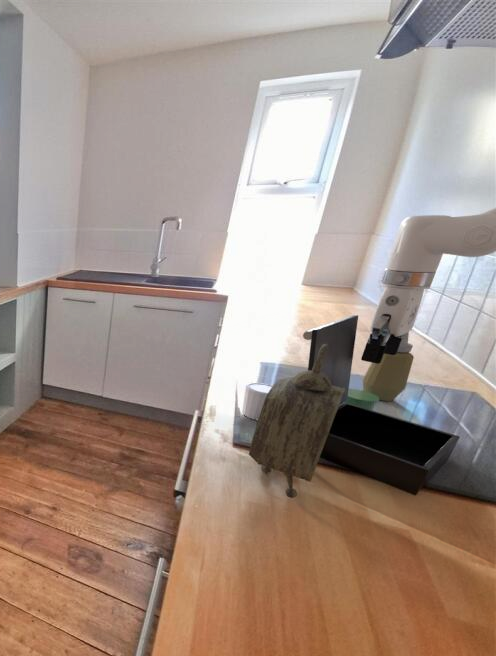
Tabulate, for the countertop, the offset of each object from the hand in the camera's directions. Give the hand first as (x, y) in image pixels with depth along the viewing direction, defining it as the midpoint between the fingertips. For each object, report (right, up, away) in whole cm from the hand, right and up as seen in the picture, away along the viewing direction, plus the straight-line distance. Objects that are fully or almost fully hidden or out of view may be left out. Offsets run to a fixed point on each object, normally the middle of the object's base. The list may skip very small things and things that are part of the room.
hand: (378, 357), depth 92 cm
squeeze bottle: (+13, -9, +14) cm, 21 cm away
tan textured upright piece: (-35, -23, -17) cm, 45 cm away
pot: (0, -13, +6) cm, 14 cm away
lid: (-19, -3, -10) cm, 21 cm away
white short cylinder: (-24, -13, +5) cm, 28 cm away
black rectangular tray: (-13, -20, -12) cm, 27 cm away
